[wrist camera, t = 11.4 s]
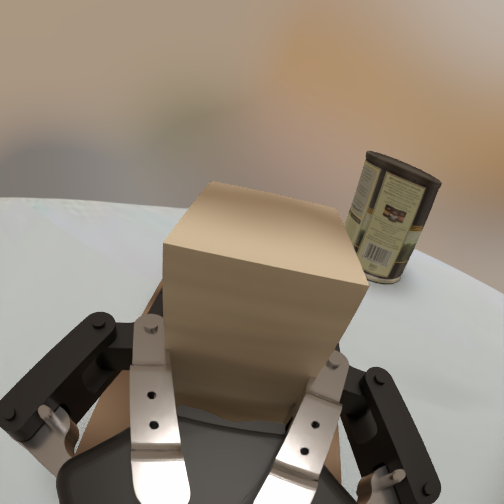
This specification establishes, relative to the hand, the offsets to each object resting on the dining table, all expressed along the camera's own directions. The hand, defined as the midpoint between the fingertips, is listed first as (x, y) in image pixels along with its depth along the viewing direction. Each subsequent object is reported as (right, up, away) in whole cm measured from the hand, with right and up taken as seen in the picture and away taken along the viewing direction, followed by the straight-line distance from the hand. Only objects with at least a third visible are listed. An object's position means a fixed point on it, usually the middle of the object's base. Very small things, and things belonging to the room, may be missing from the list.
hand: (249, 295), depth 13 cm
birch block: (-2, -7, +1) cm, 7 cm away
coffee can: (+16, +1, +23) cm, 28 cm away
